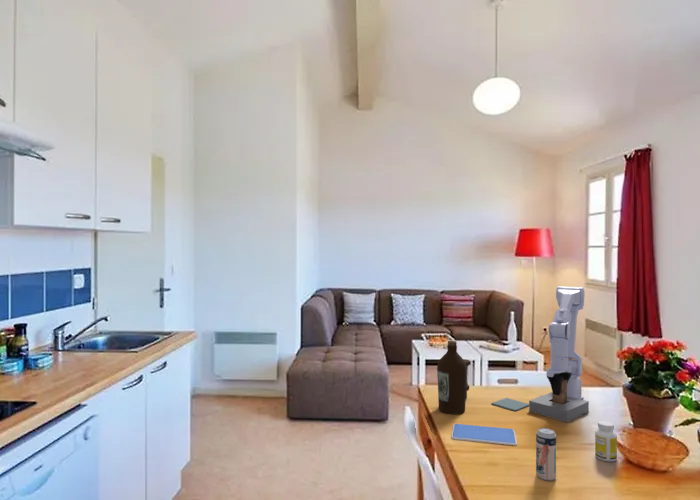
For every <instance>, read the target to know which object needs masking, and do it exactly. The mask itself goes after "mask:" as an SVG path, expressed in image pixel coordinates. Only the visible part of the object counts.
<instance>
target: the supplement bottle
mask: <svg viewBox="0 0 700 500" xmlns="http://www.w3.org/2000/svg"><path fill="white" fill-rule="evenodd" d="M617 439H618V435H617V432H616V431H615V424H614V423H613V422H612V421H611V422H610V421H607V420H599V421H598V422H597V429H596V430H595V433H594V442H595V443H594V451H595V452H594V455H595V457H596V459H598V460H601V461H603V462H615V461H617V460H618V451H617V450H618V449H617V448H618V440H617Z"/></svg>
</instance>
